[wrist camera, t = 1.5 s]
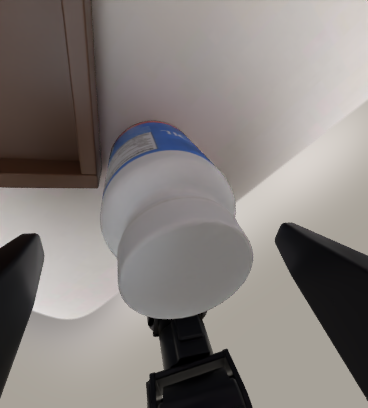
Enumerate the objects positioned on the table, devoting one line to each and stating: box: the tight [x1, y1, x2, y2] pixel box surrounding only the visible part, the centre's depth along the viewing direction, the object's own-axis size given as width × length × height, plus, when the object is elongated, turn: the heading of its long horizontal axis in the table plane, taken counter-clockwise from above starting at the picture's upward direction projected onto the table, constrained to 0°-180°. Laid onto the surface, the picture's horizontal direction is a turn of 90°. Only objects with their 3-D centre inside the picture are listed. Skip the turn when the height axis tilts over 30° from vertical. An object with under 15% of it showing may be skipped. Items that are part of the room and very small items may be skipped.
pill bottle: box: [100, 121, 253, 319], centre depth 10 cm, size 6×5×10 cm
